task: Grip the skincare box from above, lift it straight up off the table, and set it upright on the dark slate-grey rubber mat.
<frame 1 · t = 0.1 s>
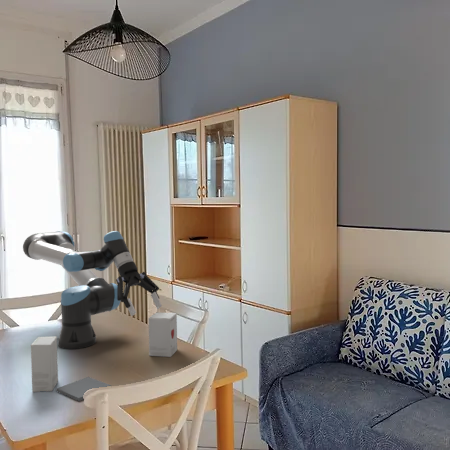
hand: (147, 310, 193), 15 cm above the table, tool tilted 35°, fingers open, 13 cm apart
supplement box: (163, 353, 188), on the table
slate mat: (83, 389, 154), on the table
skincare box: (46, 387, 156), on the table
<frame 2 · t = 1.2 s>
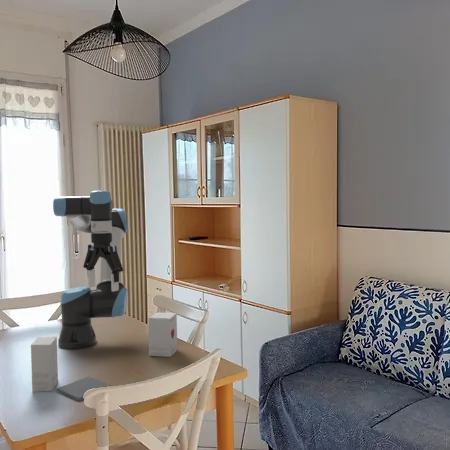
hand: (103, 288, 180), 27 cm above the table, tool pointing down, fingers open, 13 cm apart
nothing on the table moved.
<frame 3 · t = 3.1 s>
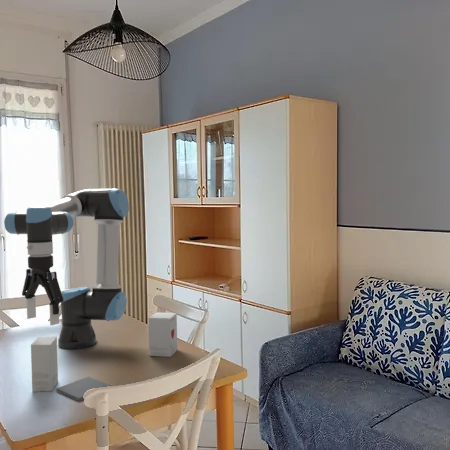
hand: (42, 321, 155), 22 cm above the table, tool pointing down, fingers open, 13 cm apart
nothing on the table moved.
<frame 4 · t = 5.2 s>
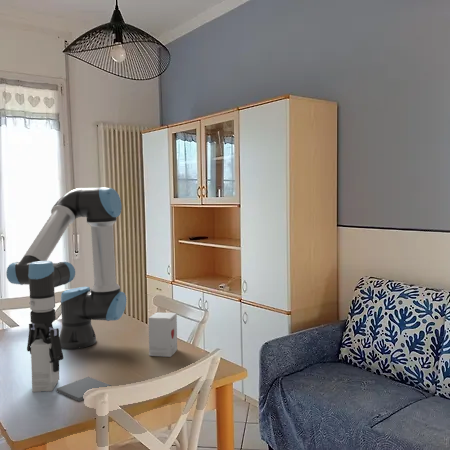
hand: (45, 377, 156), 3 cm above the table, tool pointing down, fingers closed on skincare box, 10 cm apart
skincare box: (46, 387, 156), on the table, touching gripper
everything else where it was.
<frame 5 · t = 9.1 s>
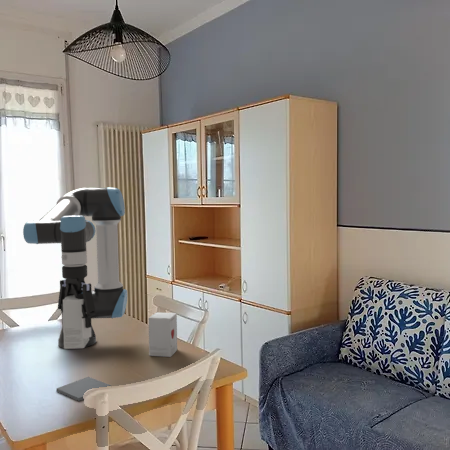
hand: (77, 334, 152), 18 cm above the table, tool pointing down, fingers closed on skincare box, 10 cm apart
skincare box: (77, 345, 153), point 14 cm above the table, touching gripper
everything else where it was.
when the fingers open (6 cm above the table, at t = 12.5 s): skincare box drops 1 cm, resting on slate mat.
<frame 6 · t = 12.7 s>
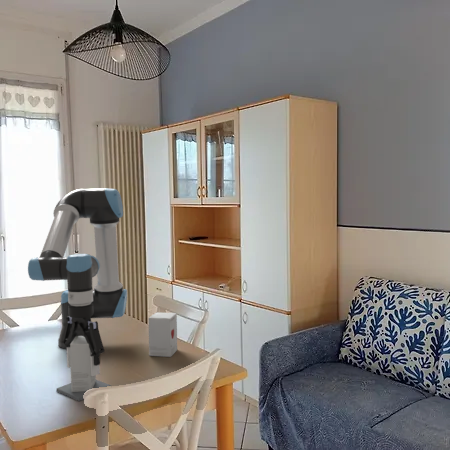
hand: (83, 370, 153), 6 cm above the table, tool pointing down, fingers open, 12 cm apart
skincare box: (84, 387, 153), point 1 cm above the table, touching slate mat
everything else where it was.
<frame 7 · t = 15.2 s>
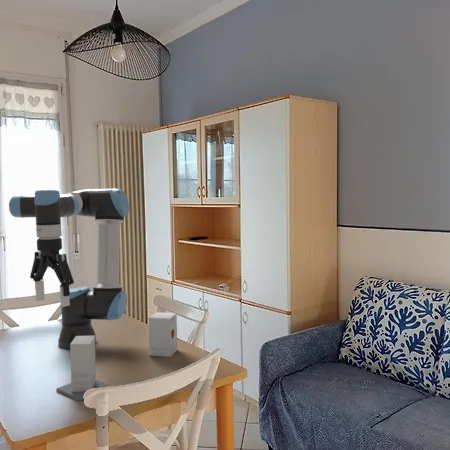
hand: (52, 303, 155), 27 cm above the table, tool pointing down, fingers open, 13 cm apart
nothing on the table moved.
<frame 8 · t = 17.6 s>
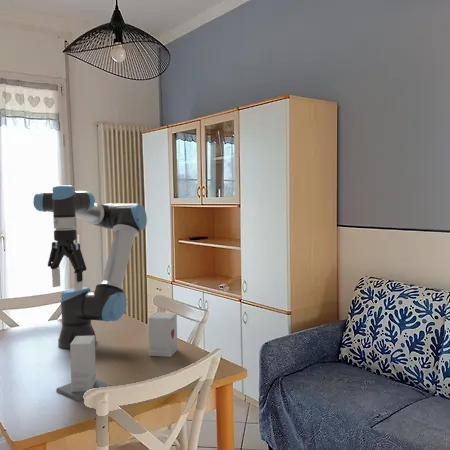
hand: (67, 288, 172), 29 cm above the table, tool pointing down, fingers open, 13 cm apart
nothing on the table moved.
at the end: skincare box inside the target area on the slate mat (0.4 cm from its centre), point 0.8 cm above the slate mat's base; skincare box tilted 0°; the gripper is holding nothing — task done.
